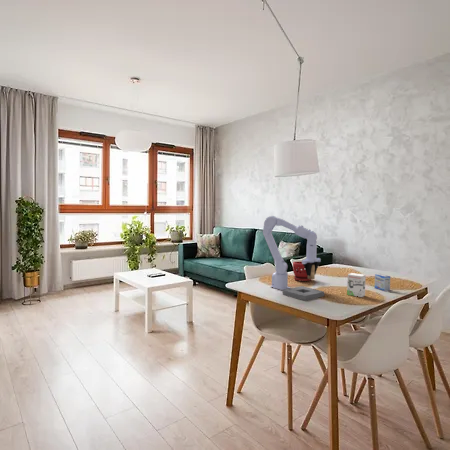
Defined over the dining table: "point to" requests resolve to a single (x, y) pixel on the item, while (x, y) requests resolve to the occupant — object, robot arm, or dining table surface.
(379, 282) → the medicine box
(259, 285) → the dining table surface
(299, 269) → the plant pot
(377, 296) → the dining table surface
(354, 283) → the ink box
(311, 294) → the docking block
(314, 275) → the peg
